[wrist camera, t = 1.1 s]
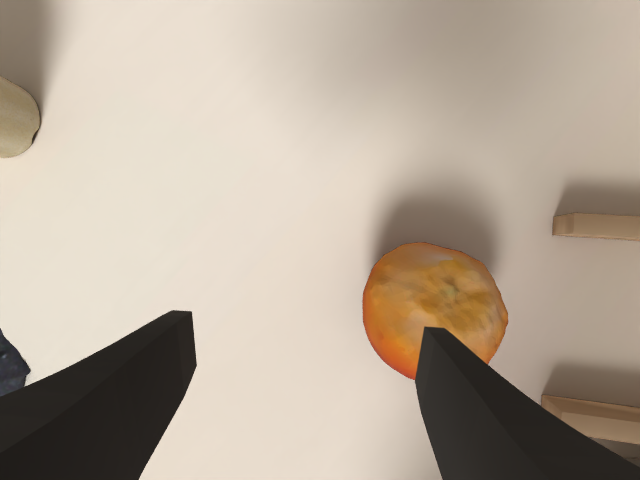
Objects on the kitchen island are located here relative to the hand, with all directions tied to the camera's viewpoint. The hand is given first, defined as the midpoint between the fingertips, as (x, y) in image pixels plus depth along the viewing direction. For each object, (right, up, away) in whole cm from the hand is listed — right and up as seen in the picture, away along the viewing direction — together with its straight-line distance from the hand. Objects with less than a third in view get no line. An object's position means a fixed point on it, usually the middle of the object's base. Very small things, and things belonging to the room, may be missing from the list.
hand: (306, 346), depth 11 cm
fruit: (+7, -1, +13) cm, 15 cm away
